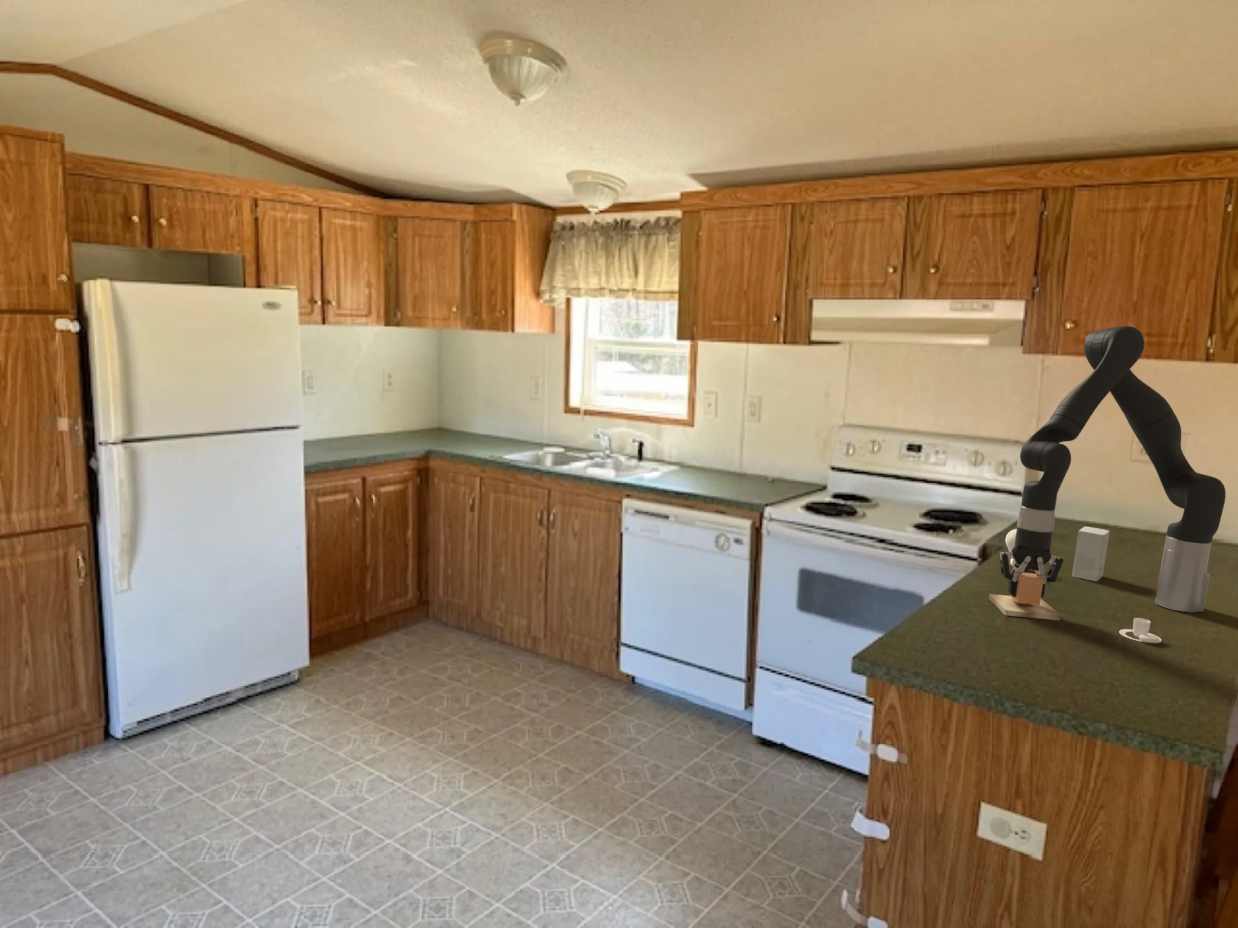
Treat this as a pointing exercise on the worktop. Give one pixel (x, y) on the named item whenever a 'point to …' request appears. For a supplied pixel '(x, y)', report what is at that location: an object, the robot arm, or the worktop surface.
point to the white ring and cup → (1141, 631)
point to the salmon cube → (1029, 589)
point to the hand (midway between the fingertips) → (1025, 596)
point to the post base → (1023, 608)
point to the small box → (1090, 553)
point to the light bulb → (1011, 543)
